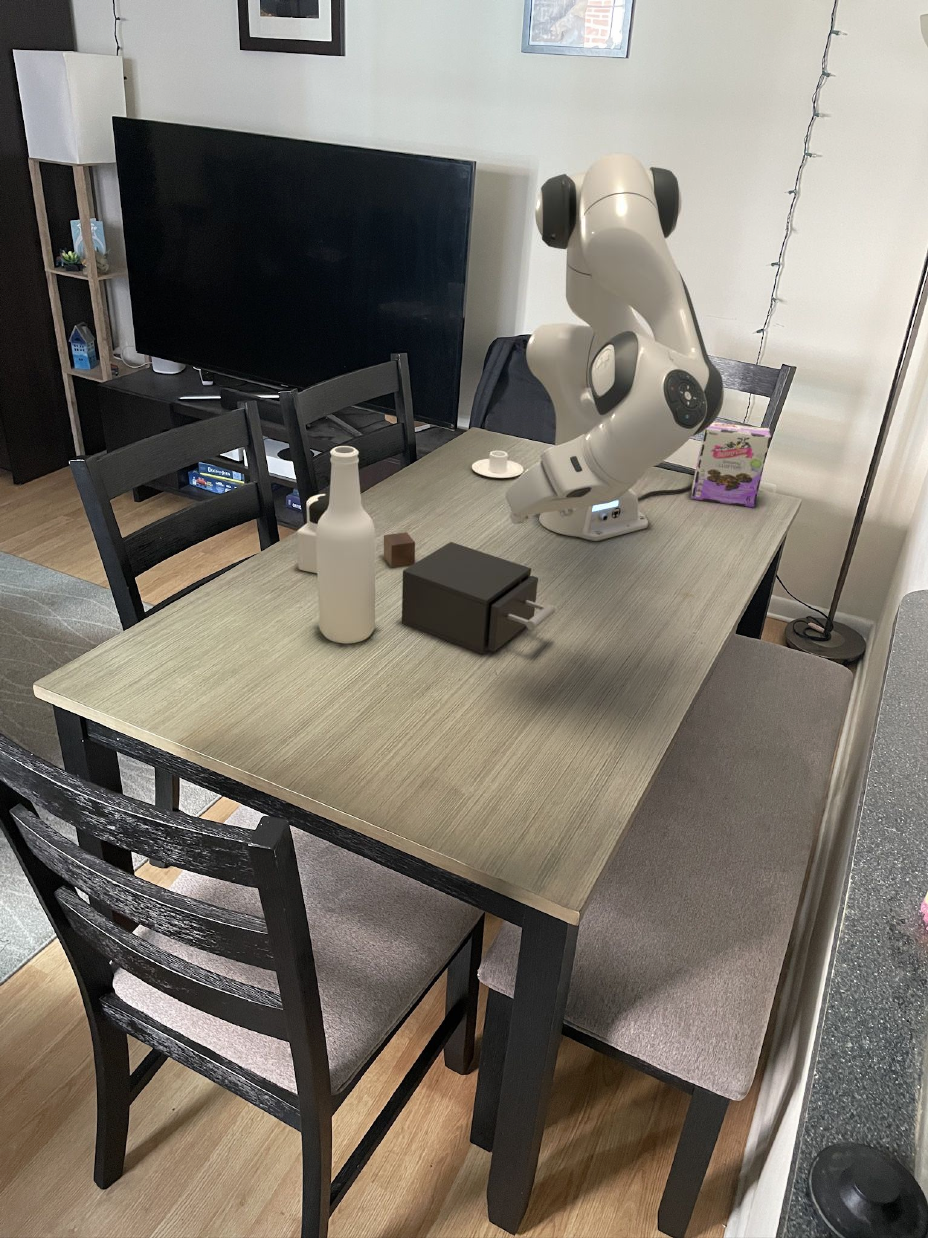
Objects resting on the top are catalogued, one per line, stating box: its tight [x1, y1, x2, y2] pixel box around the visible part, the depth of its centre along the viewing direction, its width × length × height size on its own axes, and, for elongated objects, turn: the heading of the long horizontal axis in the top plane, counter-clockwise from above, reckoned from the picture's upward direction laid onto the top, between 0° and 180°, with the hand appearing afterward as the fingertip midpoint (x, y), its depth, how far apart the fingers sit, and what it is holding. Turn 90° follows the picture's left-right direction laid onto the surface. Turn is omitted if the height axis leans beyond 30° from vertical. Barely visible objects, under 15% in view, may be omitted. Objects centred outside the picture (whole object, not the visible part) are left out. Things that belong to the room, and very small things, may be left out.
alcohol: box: [316, 445, 376, 644], centre depth 134 cm, size 9×9×30 cm
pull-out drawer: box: [486, 575, 556, 652], centre depth 142 cm, size 20×12×8 cm, turn 57°
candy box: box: [691, 421, 772, 508], centre depth 195 cm, size 14×6×16 cm, turn 76°
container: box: [296, 493, 330, 574], centre depth 158 cm, size 8×8×13 cm
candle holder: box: [471, 450, 525, 479], centre depth 205 cm, size 12×12×4 cm
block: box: [383, 531, 416, 568], centre depth 163 cm, size 4×4×4 cm
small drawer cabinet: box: [401, 541, 532, 655], centre depth 144 cm, size 16×14×10 cm
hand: (539, 515), depth 127 cm, fingers open, 8 cm apart
